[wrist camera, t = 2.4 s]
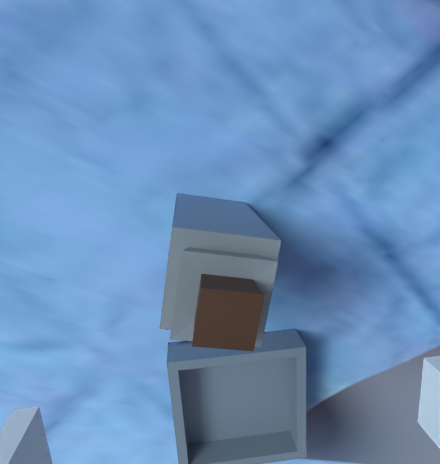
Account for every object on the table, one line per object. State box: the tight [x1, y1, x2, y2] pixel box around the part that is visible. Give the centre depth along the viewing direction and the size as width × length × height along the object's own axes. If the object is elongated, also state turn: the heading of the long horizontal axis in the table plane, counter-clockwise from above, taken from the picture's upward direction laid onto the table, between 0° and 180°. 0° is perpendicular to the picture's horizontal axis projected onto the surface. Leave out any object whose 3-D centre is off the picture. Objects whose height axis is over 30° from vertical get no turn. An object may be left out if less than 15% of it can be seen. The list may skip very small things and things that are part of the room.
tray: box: [167, 329, 306, 464], centre depth 39 cm, size 14×14×4 cm
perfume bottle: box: [160, 193, 281, 351], centre depth 27 cm, size 7×7×18 cm
